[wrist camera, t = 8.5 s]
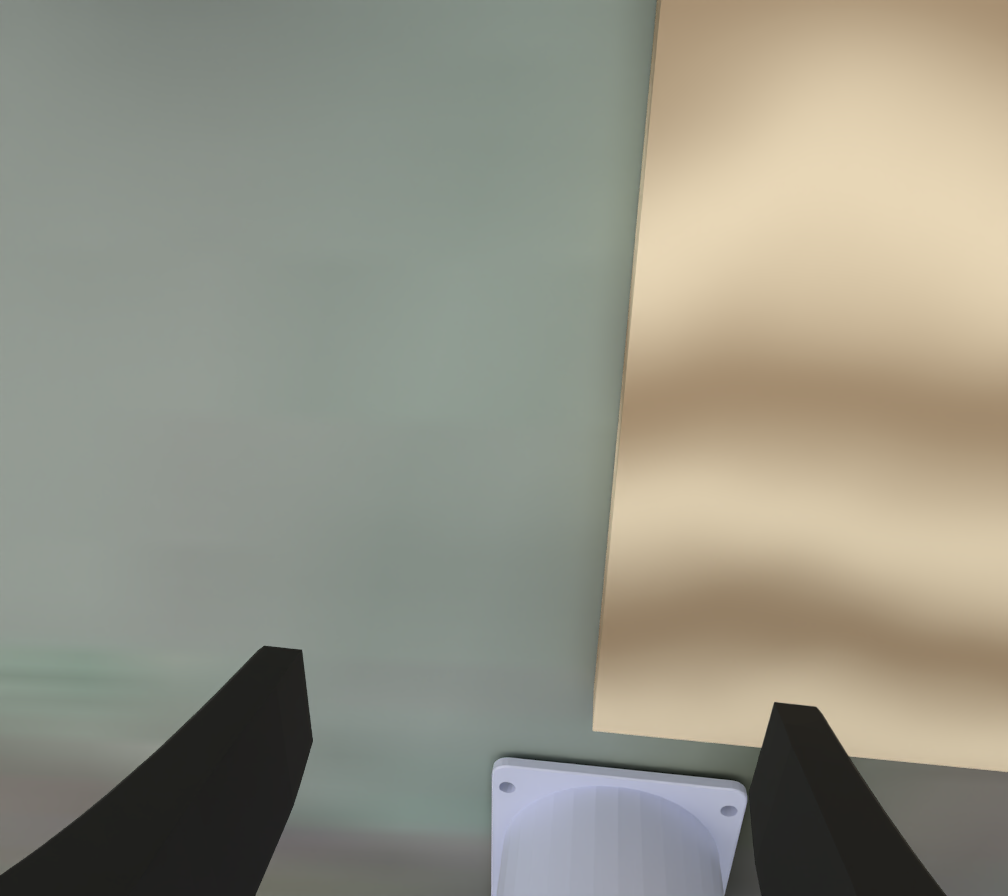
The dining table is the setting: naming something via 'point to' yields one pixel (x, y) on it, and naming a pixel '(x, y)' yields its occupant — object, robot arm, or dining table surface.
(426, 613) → the dining table surface
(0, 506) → the dining table surface
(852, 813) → the robot arm
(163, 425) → the dining table surface
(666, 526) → the birch board
